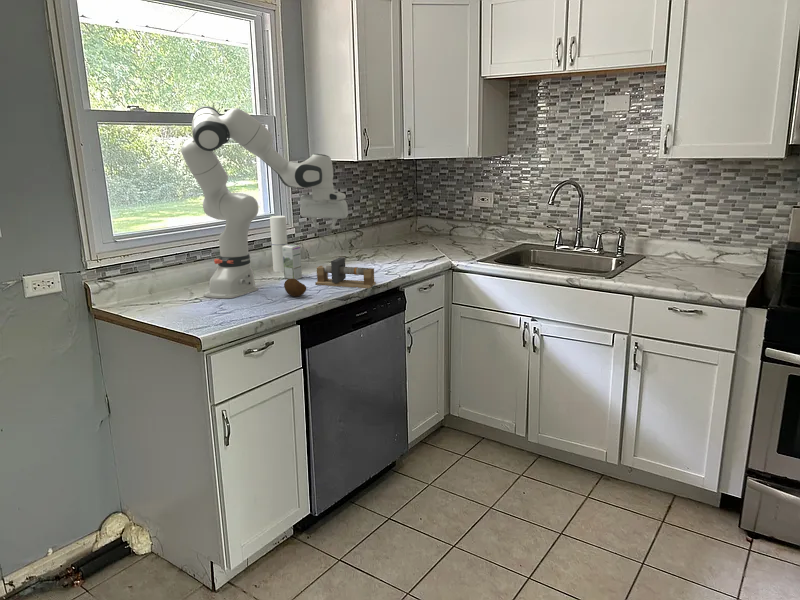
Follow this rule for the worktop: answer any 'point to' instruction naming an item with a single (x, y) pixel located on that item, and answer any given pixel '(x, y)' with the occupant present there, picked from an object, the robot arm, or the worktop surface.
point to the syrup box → (292, 261)
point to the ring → (337, 269)
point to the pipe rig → (367, 283)
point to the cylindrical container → (278, 241)
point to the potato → (294, 287)
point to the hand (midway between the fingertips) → (324, 228)
